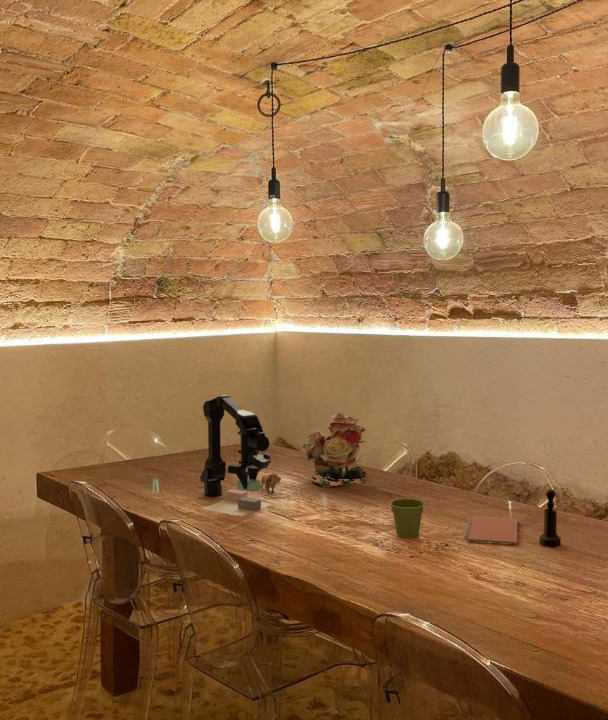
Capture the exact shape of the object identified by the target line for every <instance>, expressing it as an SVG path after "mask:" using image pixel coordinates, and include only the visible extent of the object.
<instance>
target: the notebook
mask: <svg viewBox="0 0 608 720" xmlns="http://www.w3.org/2000/svg"><path fill="white" fill-rule="evenodd" d="M465 537H466V538H467V539H466V538H465ZM463 539H464V540H466V541H474V542H473V543H477V542H487V543H486V544H489V543H488V542H491V543H506V544H517V543H518V518H515V517H502V516H501V517H500V516H499V517H498V516H486V515H485V516H484V515H483V516H482V515H471V516H469V517H468V519H467V525H466V529H465V534H464V538H463ZM491 543H490V544H491ZM517 545H518V544H517Z"/></svg>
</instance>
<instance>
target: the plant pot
mask: <svg viewBox="0 0 608 720" xmlns="http://www.w3.org/2000/svg"><path fill="white" fill-rule="evenodd" d="M389 505H390V506H391V510H392V514H393V519H394V524H395V530H396V535H397V536H398V538H403V539H410V538H411V539H415V538H417V537H418V536H419V534H420V529H421V521H422V515H423V511H424V507H425V505H426V502H425V501H424V500H421V499H418V498H417V499H416V498H406V497H405V498H397V499H393V500H390V502H389Z"/></svg>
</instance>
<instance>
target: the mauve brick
mask: <svg viewBox="0 0 608 720" xmlns="http://www.w3.org/2000/svg"><path fill="white" fill-rule="evenodd" d="M224 493H225V498H224V499H225V500H229V501H234V502H238V499H240V498H243V497H248V491H246V490H240V489H234V488H231V489H228V490H225V491H224Z"/></svg>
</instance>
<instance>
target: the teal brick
mask: <svg viewBox="0 0 608 720" xmlns="http://www.w3.org/2000/svg"><path fill="white" fill-rule="evenodd" d="M261 485H262V484H261V479H260V480H259V479H256V480H254V479H249V478H248V480H247V489H244V488H243V486H242V484H241V482H240V480H239V479H237V489H236V490H240V491H246V492H252V493H255V492H258V491H260V490H261ZM261 491H262V490H261Z"/></svg>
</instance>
